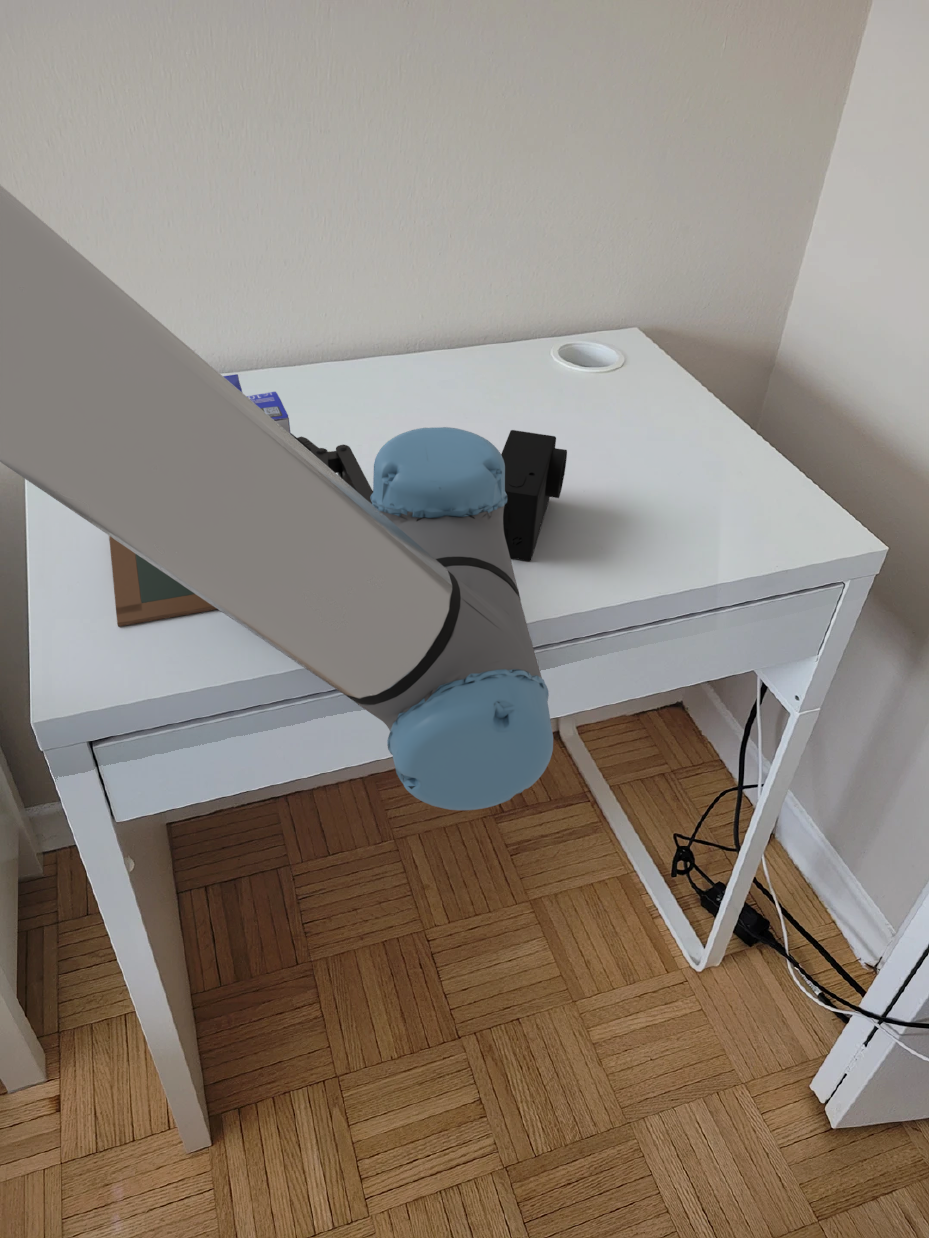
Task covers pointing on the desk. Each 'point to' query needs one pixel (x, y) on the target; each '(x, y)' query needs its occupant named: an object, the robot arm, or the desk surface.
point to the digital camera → (529, 487)
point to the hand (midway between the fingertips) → (210, 451)
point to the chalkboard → (148, 590)
